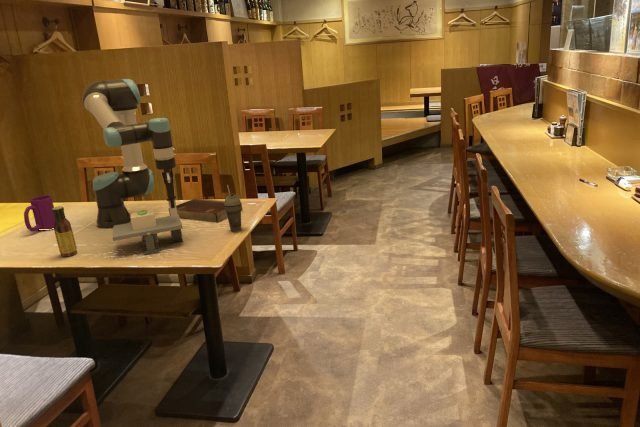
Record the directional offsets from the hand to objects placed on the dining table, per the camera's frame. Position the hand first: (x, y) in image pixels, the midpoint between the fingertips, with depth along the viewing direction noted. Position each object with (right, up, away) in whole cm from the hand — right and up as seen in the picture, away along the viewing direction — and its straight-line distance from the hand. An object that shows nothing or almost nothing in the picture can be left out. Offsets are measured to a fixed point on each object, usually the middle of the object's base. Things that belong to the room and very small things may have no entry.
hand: (174, 214), depth 208 cm
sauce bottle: (-41, -16, -4) cm, 44 cm away
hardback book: (+5, 0, +37) cm, 37 cm away
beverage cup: (+24, -7, +10) cm, 27 cm away
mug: (-70, -8, +30) cm, 76 cm away
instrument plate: (-10, -6, -2) cm, 12 cm away
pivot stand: (-5, -11, +1) cm, 13 cm away
